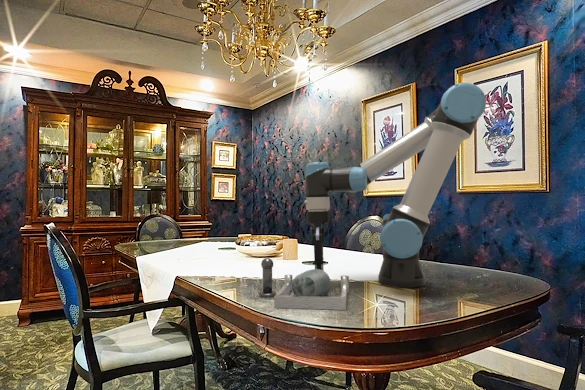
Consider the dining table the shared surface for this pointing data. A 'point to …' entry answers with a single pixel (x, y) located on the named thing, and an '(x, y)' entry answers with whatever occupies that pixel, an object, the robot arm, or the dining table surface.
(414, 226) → the robot arm
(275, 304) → the keeper cradle
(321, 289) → the grey rounded piece
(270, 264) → the post
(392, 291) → the dining table surface
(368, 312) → the dining table surface
